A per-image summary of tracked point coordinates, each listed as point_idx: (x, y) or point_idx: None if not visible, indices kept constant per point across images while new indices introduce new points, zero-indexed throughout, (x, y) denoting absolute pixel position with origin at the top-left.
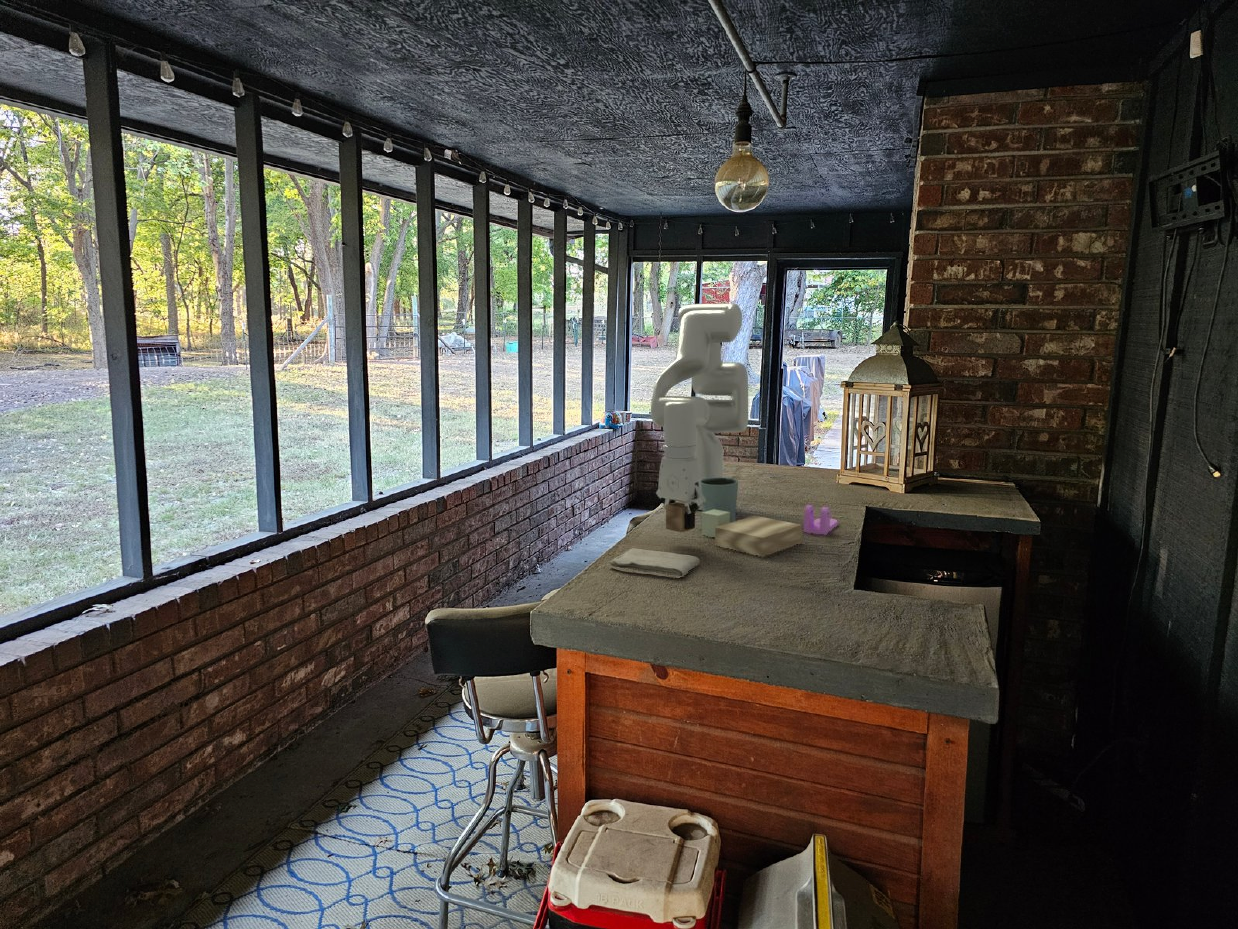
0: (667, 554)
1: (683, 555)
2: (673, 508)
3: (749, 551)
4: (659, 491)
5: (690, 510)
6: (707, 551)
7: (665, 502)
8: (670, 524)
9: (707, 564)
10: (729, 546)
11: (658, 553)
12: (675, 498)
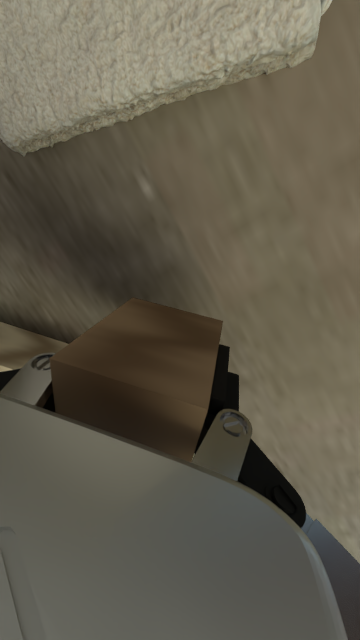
0: (78, 46)
1: (24, 92)
2: (134, 371)
3: (8, 329)
4: (312, 608)
5: (28, 366)
6: (93, 301)
7: (237, 455)
8: (191, 325)
9: (9, 172)
10: (62, 347)
11: (117, 19)
12: (41, 425)
